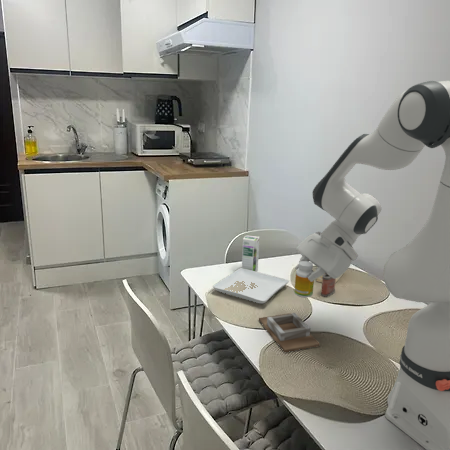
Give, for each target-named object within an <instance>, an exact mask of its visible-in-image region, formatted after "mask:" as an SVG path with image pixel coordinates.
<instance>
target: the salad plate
mask: <svg viewBox="0 0 450 450" xmlns="http://www.w3.org/2000/svg"><path fill="white" fill-rule="evenodd" d="M236 281H239V282H242V281H244V282H245V283H244V282H243V283H244V284H245V285H246V286H245V287H247V288H246V289H245V290H243V292H242V291H240V292H239V291H238V293H236V291H235V292H232V291H233V290H232V291H231V290H230V291H228V290H224V289H225V288H228V287H230V286H231V285H233V287H234V286H235V285H236V284H234V283H235V282H236ZM251 282H252V283H255V285H257V286H258V287H257V286H255V285H254V286H255V287H256V288H254V287H253V289H251V288H250V287H249V286H251V285H250V284H251ZM236 283H237V282H236ZM288 283H289V280H288V279H285V278H282V277H279V276H275V275H271V274H267V273H263V272H260V271H257V272H256V271H251V270H247V269H243V268H242V267H240V268H238V269H236V270H235V271H233V272H232V273H230V274H229V275H227V276H226V277H224V278H222V279H221V280H219V281H218V282H216V283H215V284H214V285H212V288H213V289H214V290H215V291H217V292H219V293H221V292H222V293H221V294H225V293H226V295H228V294H229V295H228V296H231V295H233V296H232V297H234V296H236V297H235V298H238V297H239V298H238V299H241V298H243V299H242V300H244V299H246V300H245V301H248V300H249V301H248V302H251V301H253V302H252V303H255V302H256V304H266V302H267V301H269V299H270V298H271V297H273V296H274V295H275V294H276V293H277V292H279V291H280V290H281V289H283V288H284V287H285V286H286V285H287V284H288ZM241 285H242V284H241ZM247 285H248V286H247ZM237 287H238V286H237ZM251 287H252V286H251ZM248 288H249V289H248Z"/></svg>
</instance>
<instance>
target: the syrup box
mask: <svg viewBox="0 0 450 450" xmlns="http://www.w3.org/2000/svg"><path fill="white" fill-rule="evenodd" d="M260 237H261V236H256V235H255V236H253V235H249V234H247V235H244V237H243V238H242V253H241V256H242V257H241V268H243V269H247V270H251V271H256V272H258V270H259V255H260V254H259V253H260Z"/></svg>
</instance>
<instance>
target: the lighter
mask: <svg viewBox="0 0 450 450" xmlns="http://www.w3.org/2000/svg"><path fill="white" fill-rule="evenodd" d="M322 279H323V281H322V282H321V291H320V297H322V298H328V297H330V296H332V295H333V294H334V293H335V291H336V283H335V280H336V279H334V278H332V277H331V276H329V275H328V274H327V273H325V274H324V275H323V276H322Z"/></svg>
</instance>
